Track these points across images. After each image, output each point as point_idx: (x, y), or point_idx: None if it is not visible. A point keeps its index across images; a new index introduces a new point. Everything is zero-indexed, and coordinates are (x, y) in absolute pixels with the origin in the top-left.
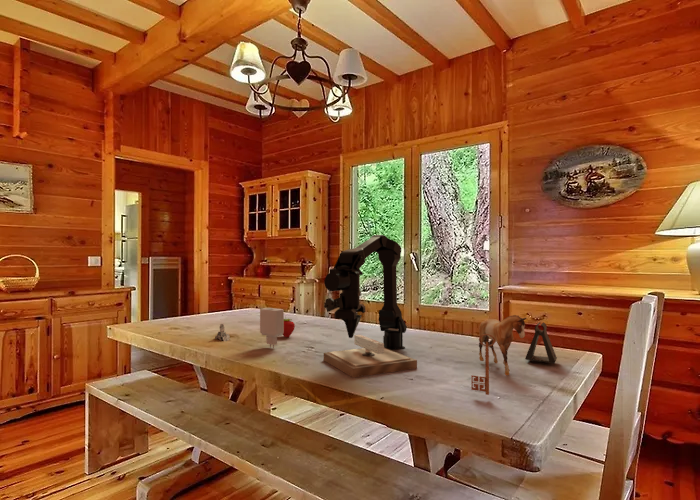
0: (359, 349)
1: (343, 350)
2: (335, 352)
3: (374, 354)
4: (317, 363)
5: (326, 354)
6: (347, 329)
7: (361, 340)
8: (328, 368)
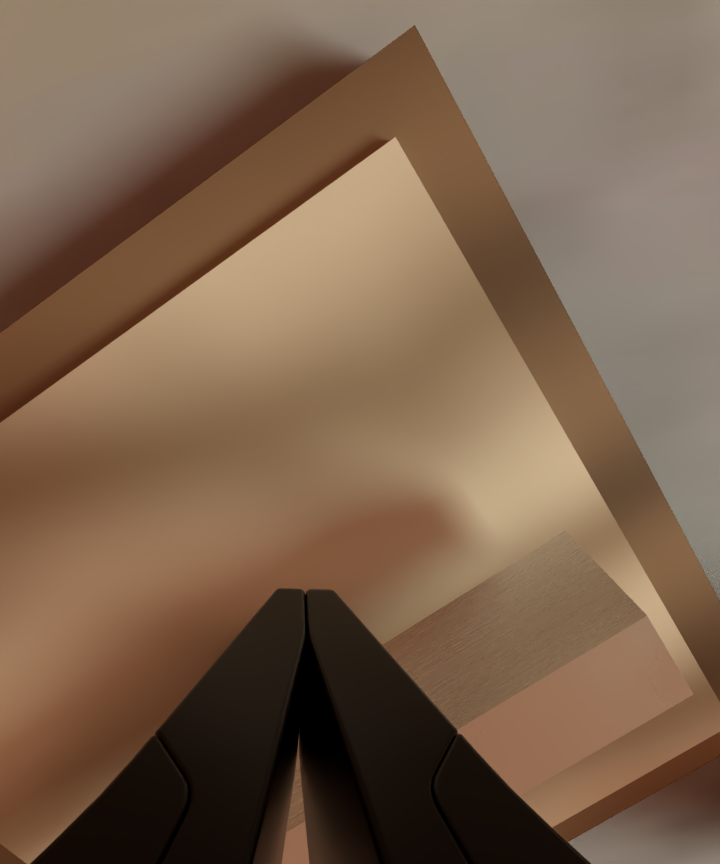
0: (579, 543)
1: (511, 345)
2: (372, 245)
3: None
4: (220, 2)
5: (313, 101)
6: (172, 724)
7: None
8: (8, 217)
